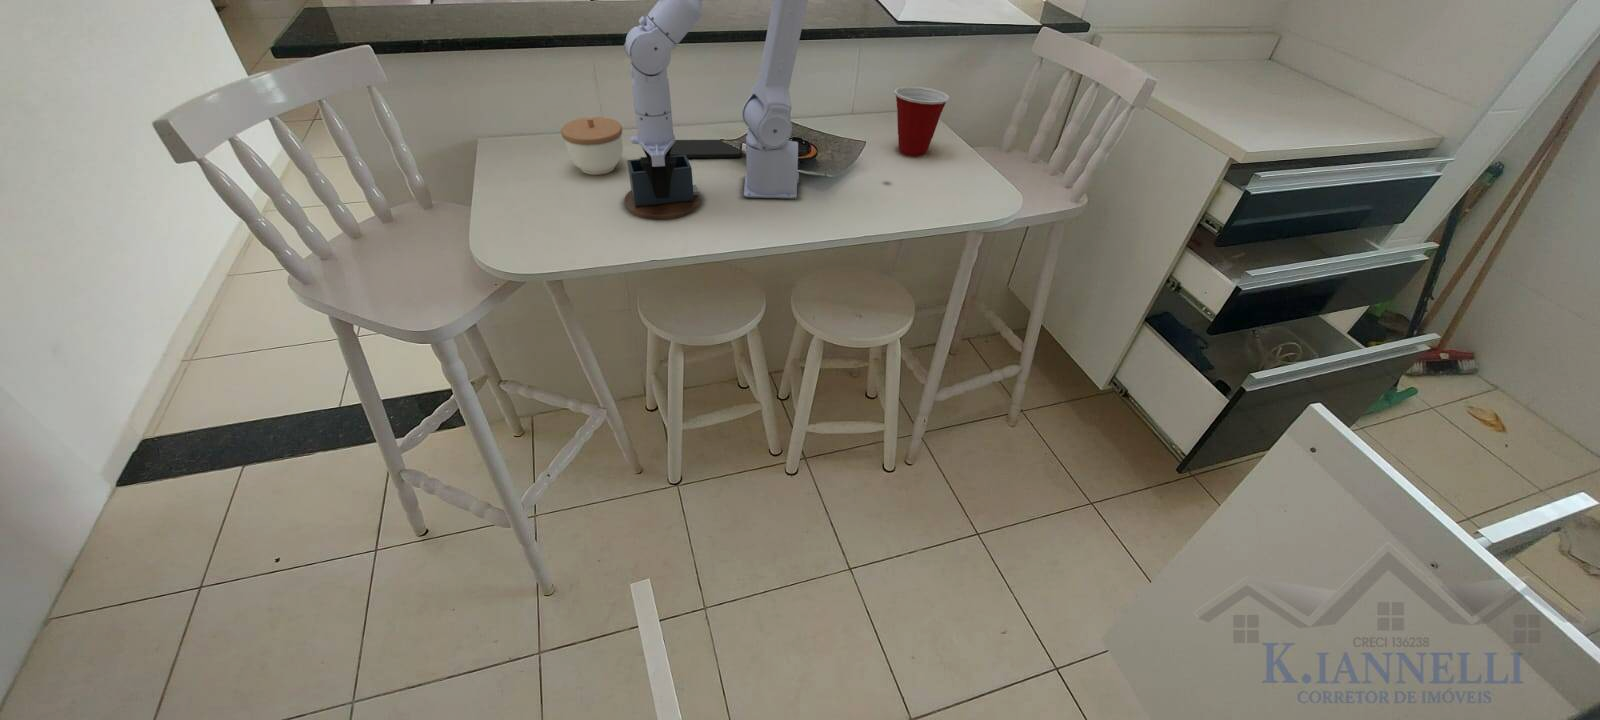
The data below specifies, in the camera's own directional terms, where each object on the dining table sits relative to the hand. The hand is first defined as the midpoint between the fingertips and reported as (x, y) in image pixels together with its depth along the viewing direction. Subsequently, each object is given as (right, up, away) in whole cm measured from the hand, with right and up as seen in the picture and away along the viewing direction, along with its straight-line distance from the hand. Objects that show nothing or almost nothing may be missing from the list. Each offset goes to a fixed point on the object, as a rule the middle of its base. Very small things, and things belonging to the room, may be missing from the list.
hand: (661, 188), depth 115 cm
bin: (+1, -1, +1) cm, 2 cm away
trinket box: (-14, +7, +11) cm, 19 cm away
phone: (+5, +12, +19) cm, 23 cm away
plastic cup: (+47, +14, +23) cm, 54 cm away
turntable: (0, -2, +2) cm, 2 cm away
